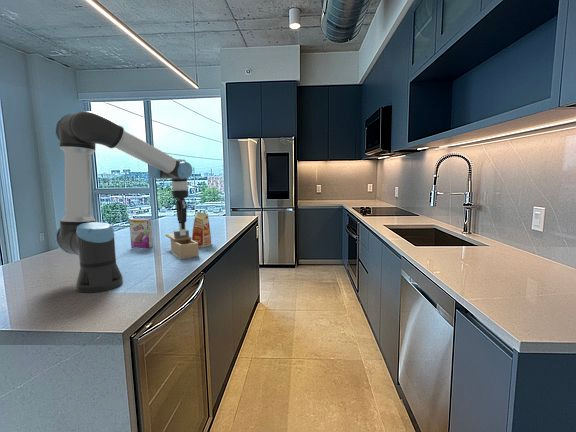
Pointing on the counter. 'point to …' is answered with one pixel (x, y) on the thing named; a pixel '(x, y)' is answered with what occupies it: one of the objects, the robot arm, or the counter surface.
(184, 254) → the mailer box
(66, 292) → the counter surface
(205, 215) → the milk carton
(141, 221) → the candy bar box
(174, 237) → the mailer lid
